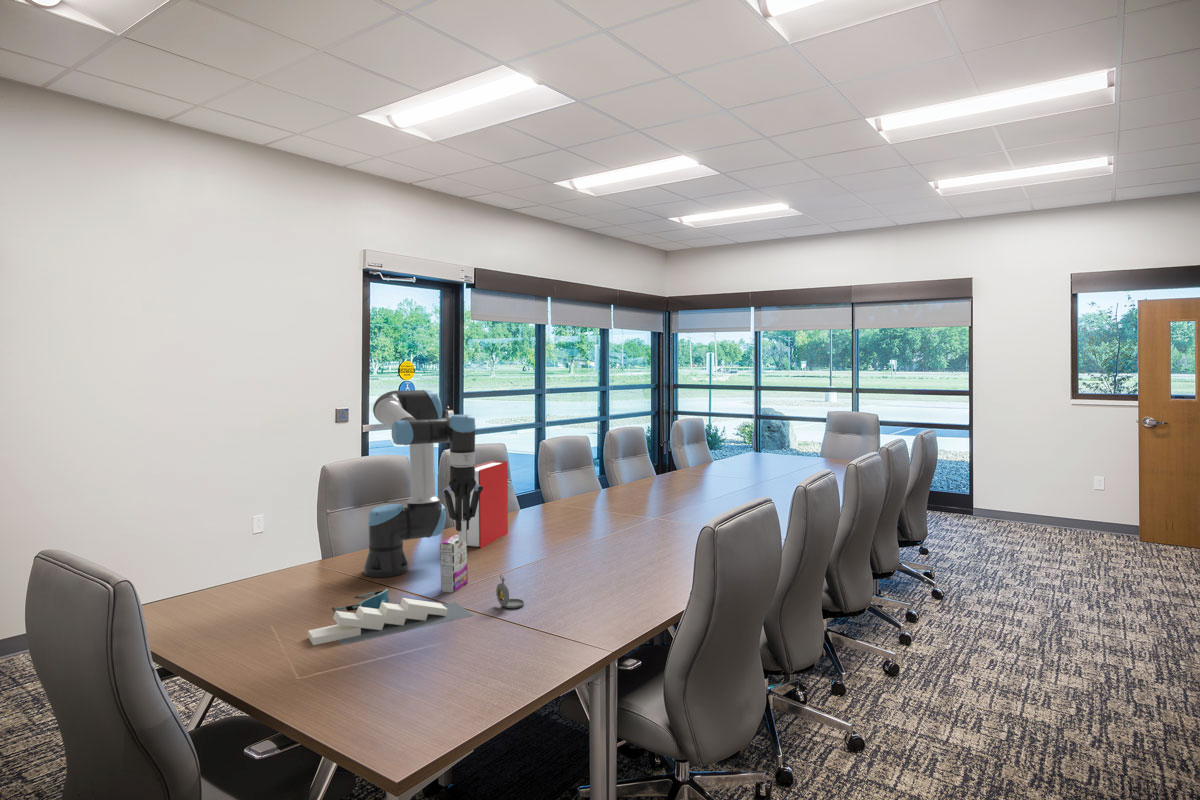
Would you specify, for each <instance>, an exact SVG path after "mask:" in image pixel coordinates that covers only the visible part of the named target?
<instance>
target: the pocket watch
mask: <svg viewBox="0 0 1200 800" xmlns="http://www.w3.org/2000/svg"><path fill="white" fill-rule="evenodd" d="M499 578H500V581H501V582H500V583H498V584H497V586H496V589H495V590H496V591H495V593H496V598H497V599H496V600H497V601H498V603H499V605H501V606H503V608H506V609H517V608H521V607H523V606H524V604H525V601H524V599H520V598H510V593H509V592H510V591H509V588H508V587H507V585H506V584H505V580H506V579H505V577H504V576H503V575H499Z"/></svg>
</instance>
